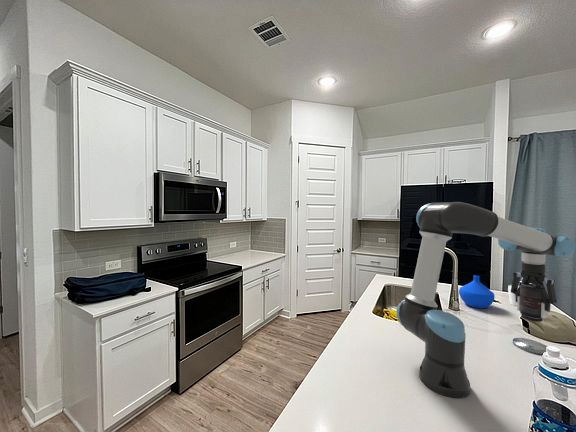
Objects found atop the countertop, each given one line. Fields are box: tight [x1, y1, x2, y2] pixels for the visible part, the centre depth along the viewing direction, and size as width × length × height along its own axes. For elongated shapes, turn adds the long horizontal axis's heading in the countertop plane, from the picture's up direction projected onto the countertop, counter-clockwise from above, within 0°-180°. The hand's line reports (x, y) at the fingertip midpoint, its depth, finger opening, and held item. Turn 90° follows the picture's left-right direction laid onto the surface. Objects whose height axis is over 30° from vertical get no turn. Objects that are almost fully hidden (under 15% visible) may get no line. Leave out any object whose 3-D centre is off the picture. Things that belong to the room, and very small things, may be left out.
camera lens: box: [519, 282, 546, 323], centre depth 110 cm, size 8×8×15 cm
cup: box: [507, 284, 520, 307], centre depth 161 cm, size 9×9×12 cm
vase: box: [458, 274, 496, 309], centre depth 159 cm, size 18×18×19 cm
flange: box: [512, 337, 548, 356], centre depth 110 cm, size 12×12×1 cm
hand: (531, 313), depth 110 cm, fingers closed on camera lens, 8 cm apart
